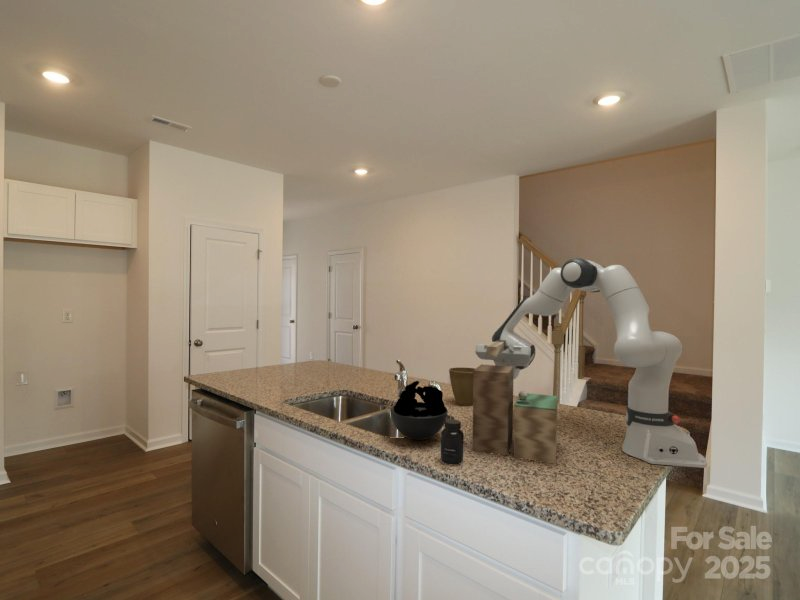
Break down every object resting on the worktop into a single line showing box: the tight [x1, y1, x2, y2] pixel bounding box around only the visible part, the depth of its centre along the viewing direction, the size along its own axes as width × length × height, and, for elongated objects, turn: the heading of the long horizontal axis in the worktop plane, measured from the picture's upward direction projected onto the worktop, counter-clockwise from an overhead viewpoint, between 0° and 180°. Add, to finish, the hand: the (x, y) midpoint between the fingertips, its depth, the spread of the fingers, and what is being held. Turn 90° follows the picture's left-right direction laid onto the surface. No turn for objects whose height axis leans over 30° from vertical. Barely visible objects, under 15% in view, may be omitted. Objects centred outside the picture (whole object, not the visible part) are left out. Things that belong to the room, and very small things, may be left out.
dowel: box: [486, 340, 506, 357], centre depth 142 cm, size 3×22×3 cm, turn 158°
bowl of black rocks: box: [389, 380, 448, 441], centre depth 145 cm, size 20×20×19 cm
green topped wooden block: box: [513, 390, 558, 465], centre depth 134 cm, size 12×18×19 cm, turn 158°
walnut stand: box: [471, 364, 514, 456], centre depth 137 cm, size 11×13×26 cm
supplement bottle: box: [440, 418, 465, 465], centre depth 125 cm, size 7×7×12 cm
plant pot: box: [448, 366, 476, 407], centre depth 193 cm, size 15×15×16 cm
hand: (500, 344), depth 150 cm, fingers closed on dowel, 3 cm apart
